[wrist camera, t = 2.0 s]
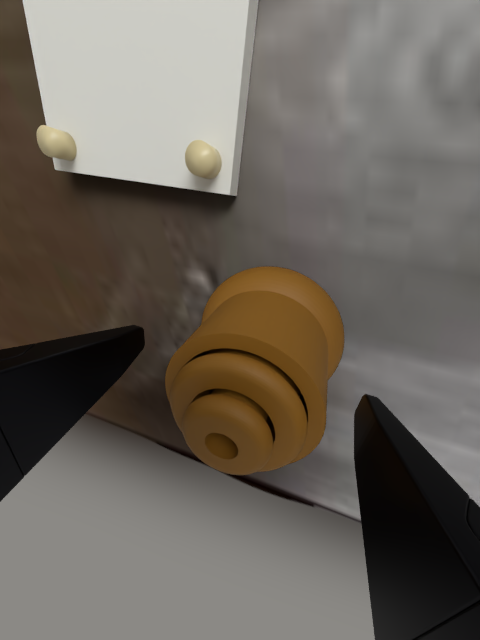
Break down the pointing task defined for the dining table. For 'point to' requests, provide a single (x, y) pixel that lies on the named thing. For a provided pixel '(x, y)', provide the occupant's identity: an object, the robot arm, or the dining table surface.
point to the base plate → (145, 88)
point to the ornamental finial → (257, 372)
